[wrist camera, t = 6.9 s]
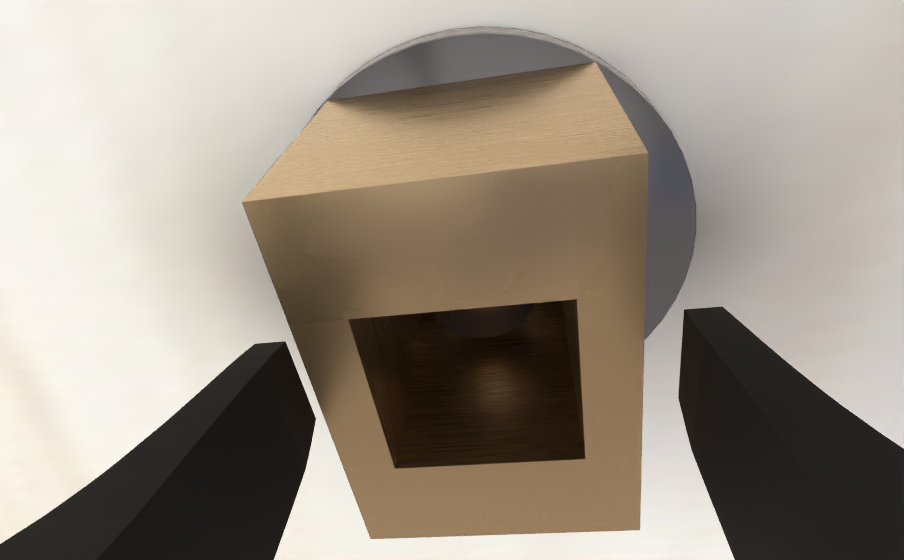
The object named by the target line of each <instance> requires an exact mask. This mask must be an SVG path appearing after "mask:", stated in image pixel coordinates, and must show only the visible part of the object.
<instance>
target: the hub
mask: <svg viewBox="0 0 904 560" xmlns="http://www.w3.org/2000/svg"><path fill="white" fill-rule="evenodd" d="M590 62H596V64H597V65H598V67H599V69H600V70H601V72H602V74H603V76H604V77H605V79H606V81H607V83H608V84H609V86H610V88H611V89H612V91H613V93H614V95H615V96H616V98H617V100H618V101H619V103H620V105H621V107H622V108H623V110H624V112H625V113H626V115H627V117H628V119H629V120H630V122H631V124H632V126H633V127H634V129H635V131H636V132H637V134H638V136H639V138H640V139H641V141H642V143H643V144H644V146H645V148H646V150H647V151H648V192H647V236H646V280H645V324H644V340H645V339H646V338H647V337H648V336H649V335H650V334H651V332H652V331H653V330H654V329H655V328H656V326H657V325H658V324H659V323H660V322H661V321H662V319H663V318H664V316H665V315H666V313H667V312H668V310H669V309H670V307H671V306H672V304H673V302H674V301H675V299H676V297H677V295H678V293H679V291H680V289H681V286H682V284H683V282H684V280H685V278H686V275H687V271H688V268H689V265H690V261H691V258H692V255H693V248H694V241H695V235H696V203H695V197H694V191H693V185H692V180H691V177H690V174H689V171H688V168H687V165H686V162H685V159H684V156H683V154H682V152H681V150H680V148H679V146H678V144H677V142H676V140H675V138H674V136H673V134H672V132H671V131H670V129H669V128H668V126H667V125H666V124H665V122H664V121H663V120H662V118H661V117H660V115H659V114H658V113H657V111H656V110H655V109H654V107H653V106H652V105H651V103H650V102H649V101H648V99H647V98H646V97H645V96H644V95H643V94H642V93H641V92H640V91H639V90H638V89H637V88H636V87H635V86H634V85H633V84H632V83H631V82H630V81H629V80H628V79H627V78H626V77H625V76H624V75H623V74H621V73H620V72H618V71H617V70H616V69H614V68H613V67H612V66H610V65H609V64H607V63H606V62H605V61H603V60H602V59H600V58H598V57H597V56H595V55H593V54H591V53H589V52H587V51H585V50H583V49H581V48H579V47H577V46H576V45H573V44H570V43H568V42H565V41H562V40H559V39H556V38H553V37H550V36H548V35H544V34H539V33H534V32H529V31H524V30H519V29H513V28H494V27H476V28H465V29H453V30H448V31H444V32H440V33H435V34H431V35H427V36H422V37H420V38H417V39H414V40H412V41H409V42H407V43H404V44H401V45H399V46H396V47H394V48H392V49H390V50H388V51H387V52H385V53H383V54H381V55H379V56H378V57H376V58H374V59H372V60H371V61H369V62H367V63H366V64H365V65H364V66H362V67H361V68H360V69H358V70H357V71H356V72H354V73H353V74H352V75H351V76H349V77H348V78H347V79H346V80H345V81H344V82H343V83H342V84H341V85H340V86H339V87H338V88H337V89H336V90H335V91H334V92H333V93H332V94H331V95H330V96H329V97H328V98H327V99H326V100H325V102H324V103H323V104H322V105H321V106H320V108H319V109H318V110H317V111H316V113H315V114H314V116H315V115H316V114H317V112H318V111H319V110H320V109H321V108H322V106H323V105H324V104H325V103H326V102H327V101H328V100H333V99H340V98H347V97H354V96H361V95H368V94H375V93H382V92H389V91H396V90H403V89H410V88H417V87H424V86H430V85H437V84H444V83H451V82H458V81H465V80H472V79H479V78H486V77H493V76H500V75H507V74H514V73H521V72H528V71H535V70H542V69H548V68H555V67H562V66H569V65H576V64H583V63H590ZM314 116H313V117H314ZM313 117H312V118H313ZM312 118H311V120H312ZM311 120H310V121H311ZM310 121H309V122H310ZM557 302H561V301H551V302H540V303H528V304H517V305H506V306H494V307H483V308H472V309H460V310H449V311H438V312H427V313H423V314H433V315H434V317H435V318H436V319H437V320H438V321H439V322H440V323H441V324H442V325H444V326H445V327H446V328H448V329H450V330H452V331H453V332H456V333H458V334H461V335H464V336H469V337H476V338H487V337H494V336H498V335H502V334H504V333H507V332H509V331H511V330H513V329H514V328H516V327H517V326H519V325H520V324H521V323H522V322H523V321H524V320H525V319H526V318H527V316H528V315H529V313H530V312H531V310H532V308H533V305H534V304H545V303H557Z"/></svg>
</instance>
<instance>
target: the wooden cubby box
mask: <svg viewBox="0 0 904 560" xmlns="http://www.w3.org/2000/svg"><path fill="white" fill-rule="evenodd" d="M647 192H648V151H647V150H646V148H645V146H644V144H643V143H642V141H641V139H640V138H639V136H638V134H637V132H636V131H635V129H634V127H633V126H632V124H631V122H630V120H629V119H628V117H627V115H626V113H625V112H624V110H623V108H622V107H621V105H620V103H619V101H618V100H617V98H616V96H615V95H614V93H613V91H612V89H611V88H610V86H609V84H608V83H607V81H606V79H605V77H604V76H603V74H602V72H601V70H600V69H599V67H598V65H597V64H596V62H590V63H583V64H576V65H569V66H562V67H555V68H548V69H542V70H535V71H528V72H521V73H514V74H507V75H500V76H493V77H486V78H479V79H472V80H465V81H458V82H451V83H444V84H437V85H430V86H424V87H417V88H410V89H403V90H396V91H389V92H382V93H375V94H368V95H361V96H354V97H347V98H340V99H333V100H328V101H327V102H326V103H325V104H324V105H323V106H322V108H321V109H320V110H319V111H318V112H317V114H316V115H315V116H314V117H313V118H312V120H311V121H310V122H309V123H308V124H307V125H306V127H305V128H304V129H303V130H302V131H301V133H300V134H299V135H298V136H297V137H296V138H295V140H294V141H293V142H292V143H291V144H290V146H289V147H288V148H287V149H286V150H285V152H284V153H283V154H282V155H281V156H280V157H279V159H278V160H277V161H276V162H275V163H274V165H273V166H272V167H271V168H270V169H269V170H268V172H267V173H266V174H265V175H264V176H263V178H262V179H261V180H260V181H259V182H258V184H257V185H256V186H255V187H254V188H253V189H252V191H251V192H250V193H249V194H248V195H247V197H246V198H245V199H244V200H243V201H242V204H243V206H244V209H245V212H246V214H247V217H248V220H249V222H250V225H251V227H252V230H253V233H254V235H255V238H256V240H257V243H258V246H259V248H260V251H261V253H262V256H263V259H264V261H265V264H266V267H267V269H268V272H269V274H270V277H271V280H272V282H273V285H274V287H275V290H276V293H277V295H278V298H279V300H280V303H281V306H282V308H283V311H284V314H285V316H286V319H287V321H288V324H289V327H290V329H291V332H292V334H293V337H294V340H295V342H296V345H297V347H298V350H299V353H300V355H301V358H302V361H303V363H304V366H305V368H306V371H307V374H308V376H309V379H310V381H311V384H312V387H313V389H314V392H315V395H316V397H317V400H318V402H319V405H320V408H321V410H322V413H323V415H324V418H325V421H326V423H327V426H328V428H329V431H330V434H331V436H332V439H333V442H334V444H335V447H336V449H337V452H338V455H339V457H340V460H341V462H342V465H343V468H344V470H345V473H346V475H347V478H348V481H349V483H350V486H351V489H352V491H353V494H354V496H355V499H356V502H357V504H358V507H359V509H360V512H361V515H362V517H363V520H364V522H365V525H366V528H367V530H368V533H369V536H370V538H371V539H385V538H415V537H445V536H475V535H505V534H535V533H565V532H595V531H625V530H640V501H641V457H642V413H643V369H644V324H645V280H646V236H647ZM551 301H561V302H557V303H545V304H534V305H533V308H532V310H531V312H530V313H529V315H528V316H527V318H526V319H525V320H524V321H523V322H522V323H521V324H520V325H519V326H517V327H516V328H514V329H513V330H511V331H509V332H507V333H504V334H502V335H498V336H494V337H487V338H476V337H469V336H464V335H461V334H458V333H456V332H453V331H452V330H450V329H448V328H446V327H445V326H444V325H442V324H441V323H440V322H439V321H438V320H437V319H436V318H435V317H434V315H433V314H423V313H427V312H438V311H449V310H460V309H472V308H483V307H494V306H506V305H517V304H528V303H540V302H551Z"/></svg>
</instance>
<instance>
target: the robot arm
mask: <svg viewBox="0 0 904 560" xmlns="http://www.w3.org/2000/svg"><path fill="white" fill-rule="evenodd" d="M678 398H679V402H680V406H681V410H682V414H683V418H684V422H685V426H686V430H687V434H688V437H689V441H690V445H691V449H692V452H693V455H694V457H695V460H696V462H697V465H698V468H699V470H700V473H701V475H702V478H703V480H704V483H705V486H706V488H707V491H708V493H709V496H710V498H711V501H712V503H713V506H714V508H715V511H716V513H717V516H718V518H719V521H720V523H721V526H722V528H723V531H724V534H725V536H726V539H727V541H728V544H729V546H730V549H731V551H732V554H733V556H734V559H735V560H904V449H903V448H902V447H900V446H899V445H897V444H896V443H894V442H893V441H891V440H890V439H888V438H887V437H885V436H884V435H882V434H881V433H879V432H878V431H877V430H875V429H874V428H872V427H871V426H870V425H868V424H867V423H865V422H864V421H863V420H861V419H860V418H858V417H857V416H856V415H854V414H853V413H851V412H850V411H849V410H847V409H846V408H844V407H843V406H842V405H840V404H839V403H838V402H836V401H835V400H834V399H832V398H831V397H830V396H828V395H827V394H826V393H825V392H823V391H822V390H821V389H820V388H818V387H817V386H816V385H815V384H813V383H812V382H811V381H809V380H808V379H807V378H806V377H804V376H803V375H802V374H801V373H799V372H798V371H797V370H796V369H794V368H793V367H792V366H791V365H790V364H788V363H787V362H786V361H785V360H784V359H782V358H781V357H780V356H779V355H778V354H777V353H775V352H774V351H773V350H772V349H771V348H770V347H768V346H767V345H766V344H765V343H764V342H762V341H761V340H760V339H759V338H758V337H757V336H756V335H754V334H753V333H752V332H751V331H750V330H749V329H747V328H746V327H745V326H744V325H743V324H742V323H741V322H739V321H738V320H737V319H736V318H735V317H734V316H732V315H731V314H730V313H729V312H728V311H727V310H725V309H724V308H723V307H712V308H700V309H687V310H684V321H683V336H682V351H681V366H680V381H679V396H678ZM315 421H316V418H315V415H314V413H313V410H312V408H311V405H310V403H309V400H308V398H307V395H306V393H305V390H304V387H303V385H302V382H301V380H300V377H299V375H298V372H297V370H296V367H295V365H294V362H293V360H292V357H291V355H290V352H289V350H288V347H287V344H286V342H273V343H260V344H255V345H253V346H252V347H251V348H249V349H248V350H247V351H246V352H244V353H243V354H242V355H241V356H240V357H238V358H237V359H236V360H235V361H234V362H233V363H232V364H230V365H229V366H228V367H227V368H226V369H225V370H224V371H223V372H221V373H220V374H219V375H218V376H217V377H216V378H215V379H214V380H212V381H211V382H210V383H209V384H208V385H207V386H206V387H205V388H204V389H202V390H201V391H200V392H199V393H198V394H197V395H196V396H195V397H193V398H192V399H191V400H190V401H189V402H188V403H187V404H186V405H184V406H183V407H182V408H181V409H180V410H179V411H178V412H177V413H175V414H174V415H173V416H172V417H171V418H170V419H169V420H168V421H166V422H165V423H164V424H163V425H162V426H160V427H159V428H158V429H157V430H156V431H154V432H153V433H152V434H151V435H150V436H148V437H147V438H146V439H145V440H144V441H142V442H141V443H140V444H139V445H137V446H136V447H135V448H134V449H133V450H131V451H130V452H129V453H128V454H127V455H125V456H124V457H123V458H122V459H121V460H119V461H118V462H117V463H116V464H114V465H113V466H112V467H111V468H109V469H108V470H107V471H105V472H104V473H103V474H102V475H100V476H99V477H98V478H96V479H95V480H94V481H92V482H91V483H90V484H88V485H87V486H86V487H84V488H83V489H81V490H80V491H79V492H77V493H76V494H74V495H73V496H72V497H70V498H69V499H67V500H66V501H65V502H63V503H62V504H60V505H59V506H58V507H56V508H55V509H53V510H52V511H50V512H49V513H48V514H46V515H45V516H43V517H42V518H40V519H39V520H37V521H36V522H34V523H32V524H31V525H29V526H28V527H26V528H25V529H23V530H22V531H20V532H18V533H17V534H15V535H14V536H12V537H11V538H9V539H8V540H6V541H4V542H3V543H1V544H0V560H274V557H275V554H276V552H277V549H278V546H279V543H280V540H281V538H282V535H283V532H284V529H285V526H286V524H287V521H288V518H289V515H290V512H291V510H292V507H293V504H294V501H295V498H296V495H297V492H298V489H299V487H300V484H301V481H302V478H303V475H304V472H305V469H306V465H307V460H308V456H309V451H310V447H311V442H312V436H313V431H314V426H315Z"/></svg>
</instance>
